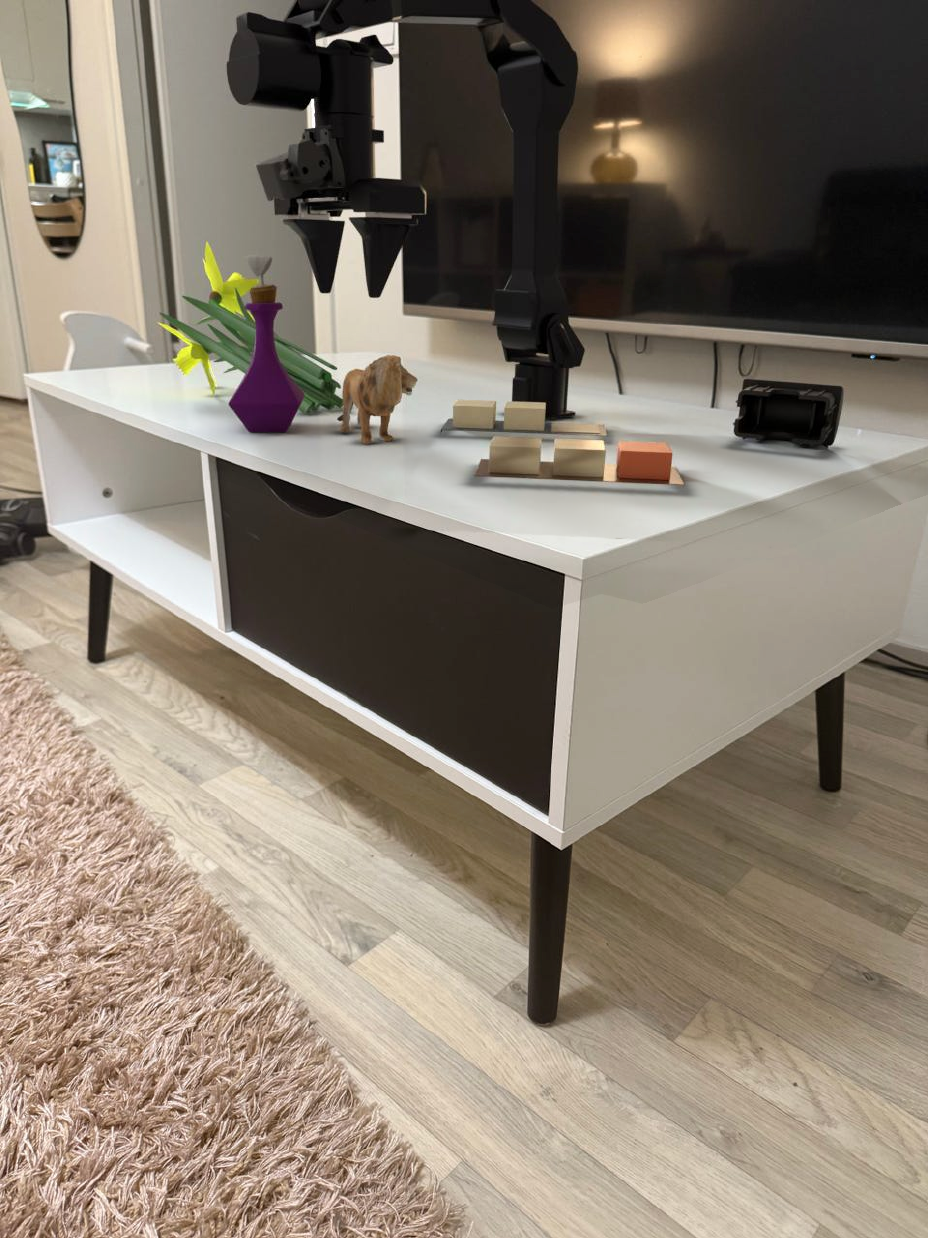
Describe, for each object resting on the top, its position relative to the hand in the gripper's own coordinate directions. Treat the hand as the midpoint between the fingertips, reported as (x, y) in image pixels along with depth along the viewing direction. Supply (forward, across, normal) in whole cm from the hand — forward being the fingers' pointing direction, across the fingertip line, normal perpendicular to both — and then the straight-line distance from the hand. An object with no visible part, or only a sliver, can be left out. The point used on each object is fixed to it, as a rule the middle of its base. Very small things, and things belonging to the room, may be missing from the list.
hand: (349, 295), depth 90 cm
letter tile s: (+14, +30, +11) cm, 35 cm away
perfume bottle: (+15, -11, -4) cm, 19 cm away
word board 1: (+14, +7, +18) cm, 24 cm away
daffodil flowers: (+15, -32, +6) cm, 36 cm away
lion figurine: (+15, -1, +3) cm, 15 cm away
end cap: (+15, +28, +36) cm, 48 cm away
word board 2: (+14, +26, +7) cm, 31 cm away
